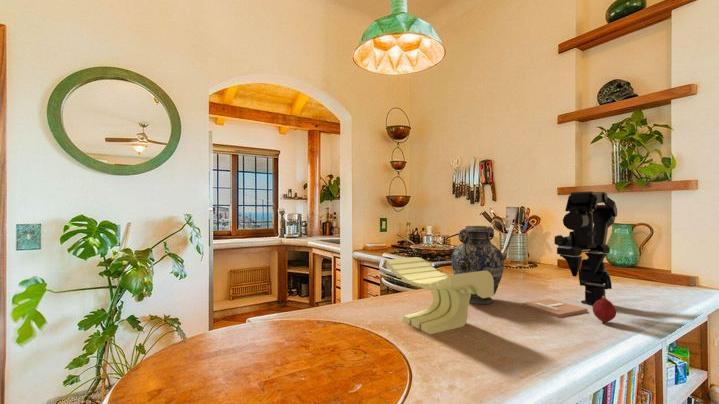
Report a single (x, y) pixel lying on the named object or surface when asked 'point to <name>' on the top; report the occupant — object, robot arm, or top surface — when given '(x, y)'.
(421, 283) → the slatted curved stool
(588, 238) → the robot arm
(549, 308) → the letter tile
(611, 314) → the onion
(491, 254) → the decorative vase
